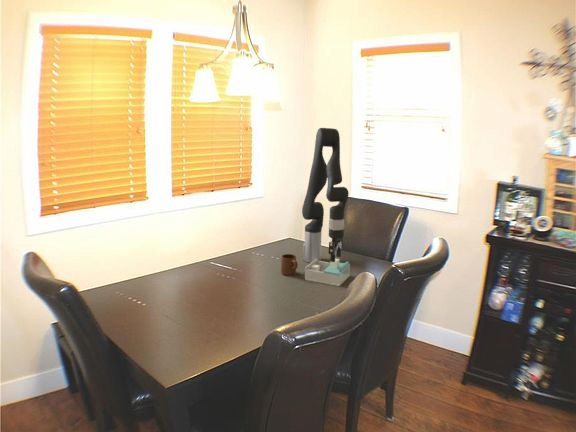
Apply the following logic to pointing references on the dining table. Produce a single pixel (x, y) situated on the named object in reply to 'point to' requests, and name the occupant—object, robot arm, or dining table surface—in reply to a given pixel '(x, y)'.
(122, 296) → the dining table surface
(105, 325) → the dining table surface
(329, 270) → the teal lid
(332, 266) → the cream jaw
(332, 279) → the grey housing
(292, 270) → the mug
